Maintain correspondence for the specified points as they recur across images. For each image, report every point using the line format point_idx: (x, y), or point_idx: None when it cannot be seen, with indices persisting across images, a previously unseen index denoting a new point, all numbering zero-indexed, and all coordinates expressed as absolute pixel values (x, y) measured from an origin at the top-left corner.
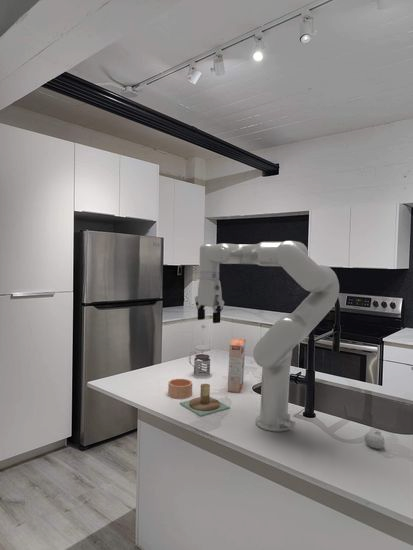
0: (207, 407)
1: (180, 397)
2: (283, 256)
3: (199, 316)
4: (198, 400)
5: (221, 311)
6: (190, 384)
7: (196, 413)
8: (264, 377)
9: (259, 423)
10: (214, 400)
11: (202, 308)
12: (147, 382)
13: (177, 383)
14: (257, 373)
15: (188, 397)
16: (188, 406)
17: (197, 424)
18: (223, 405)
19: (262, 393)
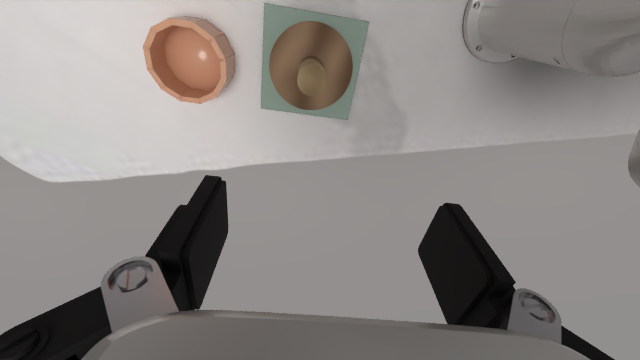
0: (337, 86)
1: (229, 81)
2: None
3: (219, 247)
4: (288, 70)
5: (547, 300)
6: (219, 50)
7: (332, 117)
8: (591, 74)
9: (485, 57)
10: (316, 33)
11: (176, 291)
12: (54, 68)
13: (156, 46)
14: None
15: (234, 56)
16: (293, 107)
17: (367, 146)
18: (348, 28)
19: (539, 60)
